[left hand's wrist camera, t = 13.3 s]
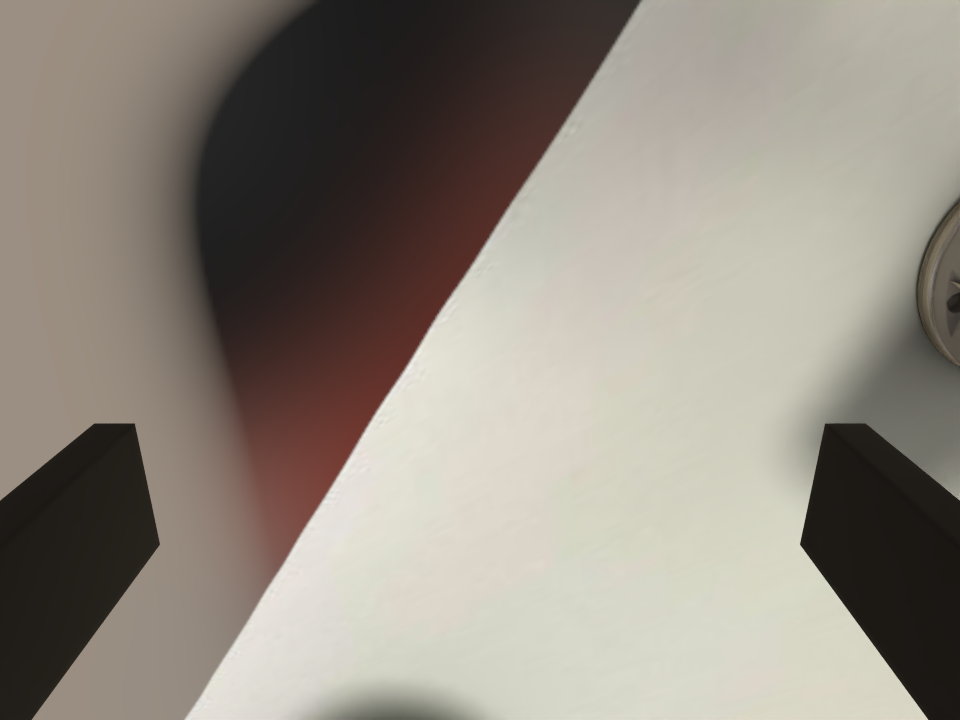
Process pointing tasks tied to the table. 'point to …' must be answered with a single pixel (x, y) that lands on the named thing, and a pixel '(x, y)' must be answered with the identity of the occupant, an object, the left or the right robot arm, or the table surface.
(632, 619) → the table surface
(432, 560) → the table surface
